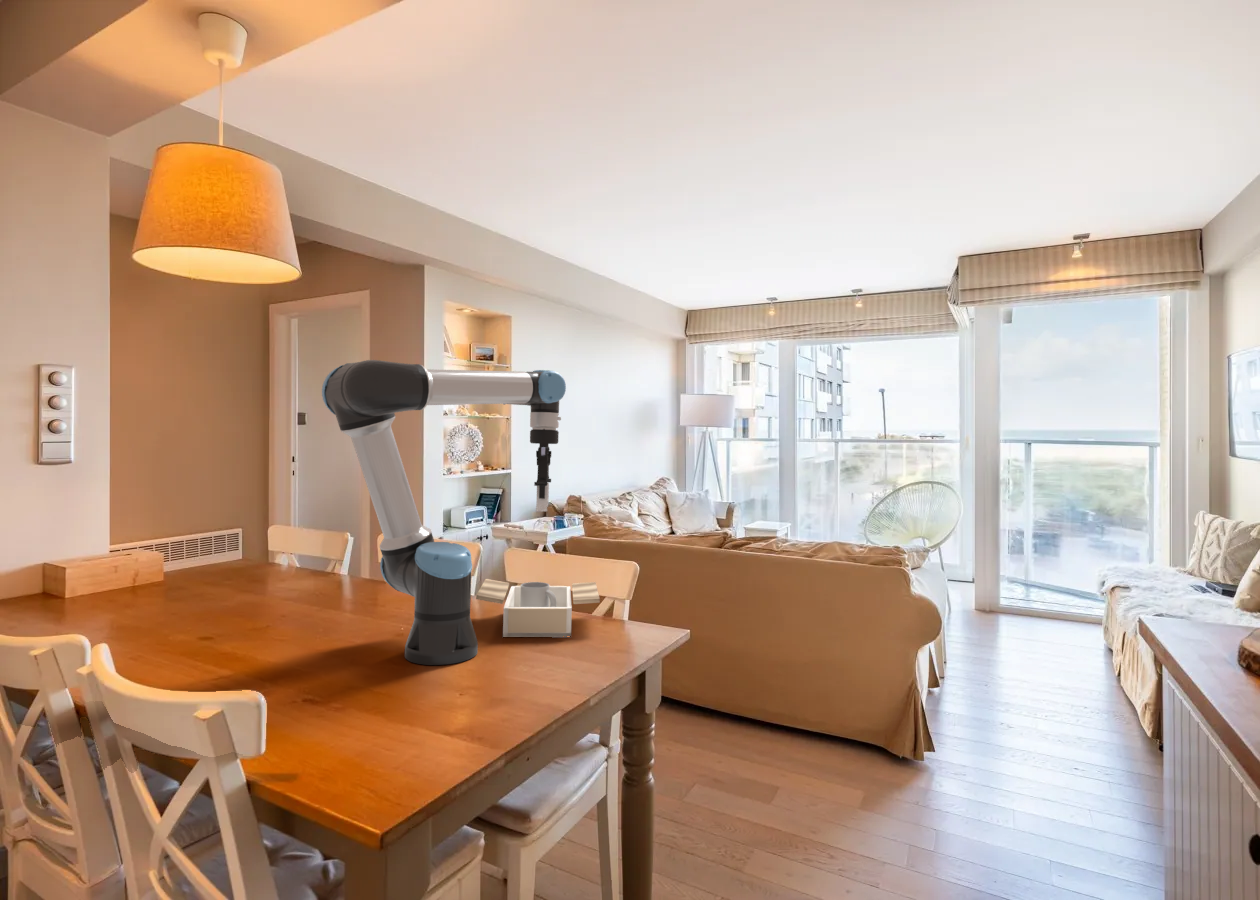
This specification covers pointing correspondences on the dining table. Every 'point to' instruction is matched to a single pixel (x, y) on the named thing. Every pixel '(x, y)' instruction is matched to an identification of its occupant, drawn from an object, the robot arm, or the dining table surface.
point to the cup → (536, 595)
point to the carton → (538, 615)
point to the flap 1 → (493, 591)
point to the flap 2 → (585, 593)
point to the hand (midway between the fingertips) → (542, 508)
